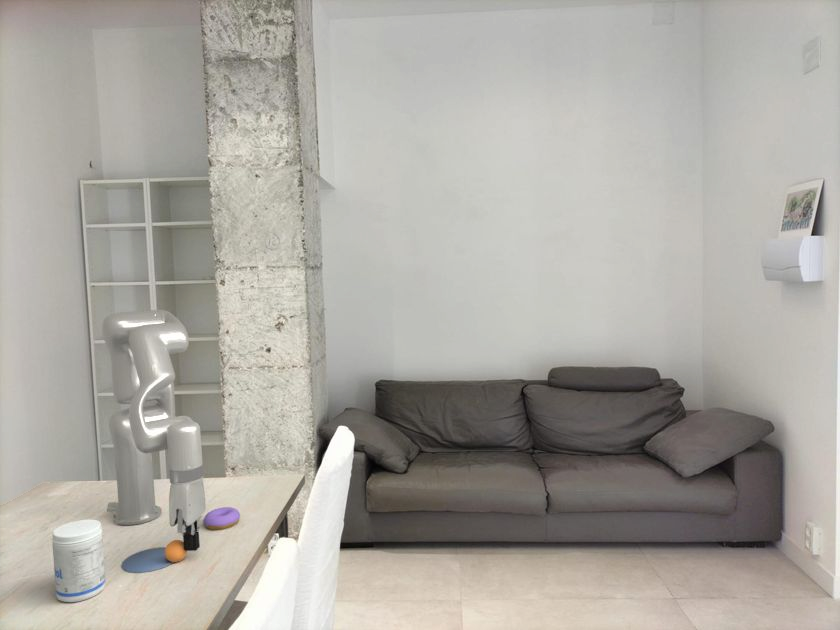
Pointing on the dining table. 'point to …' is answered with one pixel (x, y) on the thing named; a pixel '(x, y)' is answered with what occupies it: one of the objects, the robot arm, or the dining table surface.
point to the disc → (146, 561)
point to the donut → (221, 518)
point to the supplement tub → (78, 560)
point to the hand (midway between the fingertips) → (191, 549)
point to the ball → (175, 551)
